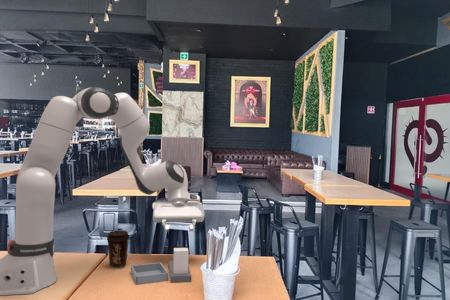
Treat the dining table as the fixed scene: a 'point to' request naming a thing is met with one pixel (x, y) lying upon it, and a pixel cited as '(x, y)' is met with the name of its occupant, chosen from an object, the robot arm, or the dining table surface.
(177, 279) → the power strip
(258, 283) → the dining table surface
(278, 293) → the dining table surface
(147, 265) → the tray
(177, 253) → the charger
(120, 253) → the coffee cup
